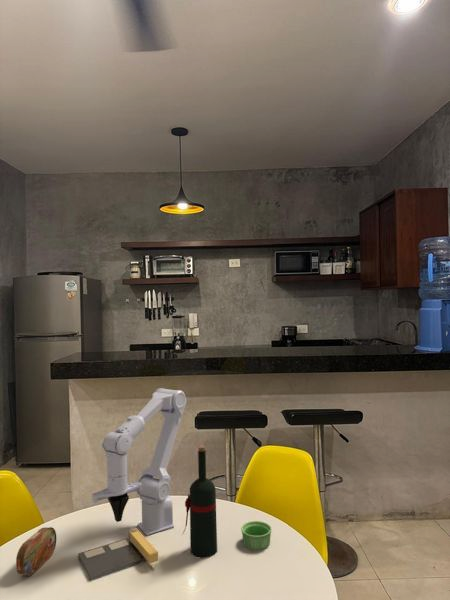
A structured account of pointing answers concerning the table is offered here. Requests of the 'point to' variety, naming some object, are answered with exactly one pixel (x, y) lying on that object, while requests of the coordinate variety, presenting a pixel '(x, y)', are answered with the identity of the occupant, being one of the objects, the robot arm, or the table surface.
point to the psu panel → (110, 558)
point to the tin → (36, 551)
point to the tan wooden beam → (143, 545)
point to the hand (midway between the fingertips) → (118, 520)
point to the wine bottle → (202, 512)
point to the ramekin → (256, 535)
